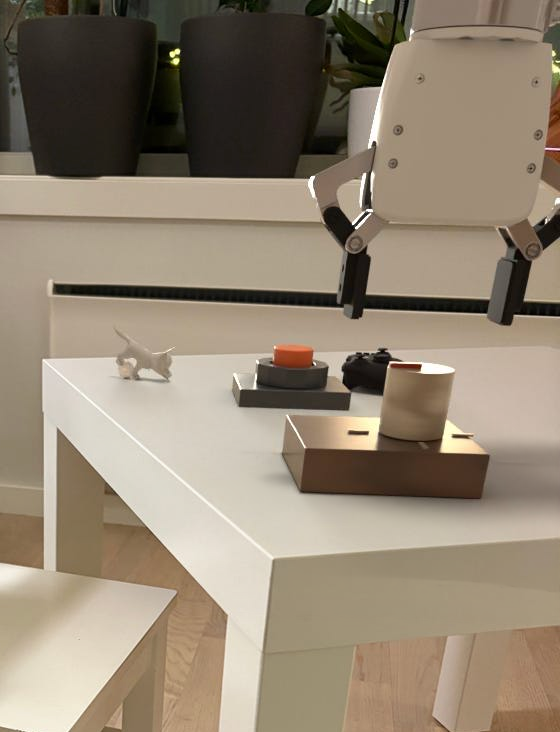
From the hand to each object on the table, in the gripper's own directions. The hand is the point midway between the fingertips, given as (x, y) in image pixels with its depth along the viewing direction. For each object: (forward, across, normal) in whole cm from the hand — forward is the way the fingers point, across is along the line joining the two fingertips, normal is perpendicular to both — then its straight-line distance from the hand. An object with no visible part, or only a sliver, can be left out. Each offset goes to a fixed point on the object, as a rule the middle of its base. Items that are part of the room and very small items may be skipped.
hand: (424, 319), depth 65 cm
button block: (+11, +4, -25) cm, 28 cm away
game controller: (+11, -6, -33) cm, 35 cm away
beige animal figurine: (+11, +18, -33) cm, 40 cm away
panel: (+11, +2, 0) cm, 11 cm away
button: (+8, +5, -25) cm, 27 cm away
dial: (+8, 0, 0) cm, 8 cm away
